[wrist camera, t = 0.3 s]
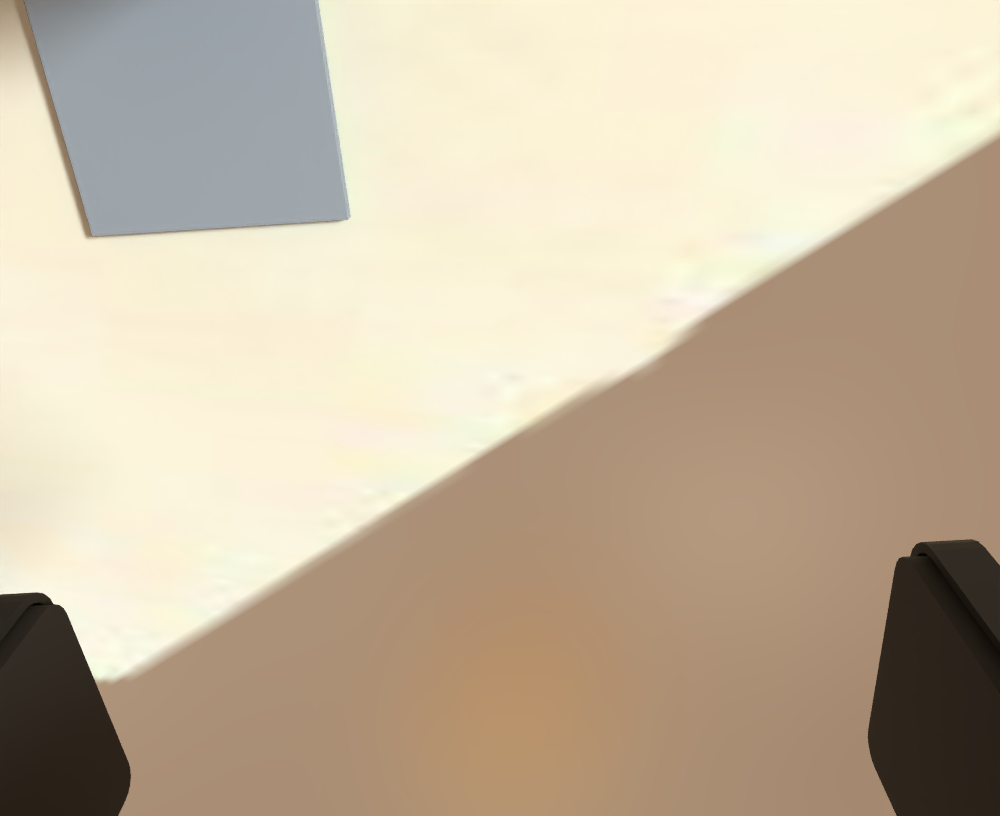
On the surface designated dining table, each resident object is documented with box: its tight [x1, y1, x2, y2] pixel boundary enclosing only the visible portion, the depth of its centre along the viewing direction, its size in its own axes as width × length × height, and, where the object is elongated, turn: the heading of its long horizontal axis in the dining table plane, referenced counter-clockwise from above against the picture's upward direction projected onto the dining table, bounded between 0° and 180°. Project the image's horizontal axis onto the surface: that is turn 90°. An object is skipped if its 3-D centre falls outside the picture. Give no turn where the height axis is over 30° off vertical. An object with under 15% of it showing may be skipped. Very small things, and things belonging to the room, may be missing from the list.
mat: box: [24, 0, 350, 236], centre depth 36 cm, size 10×12×1 cm
